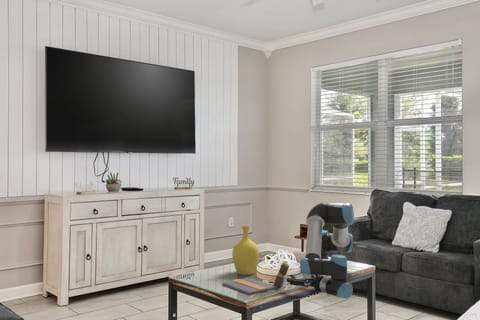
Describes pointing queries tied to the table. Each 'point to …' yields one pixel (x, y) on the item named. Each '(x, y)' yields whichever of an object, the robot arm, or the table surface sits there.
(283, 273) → the wooden block set
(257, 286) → the board
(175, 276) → the table surface
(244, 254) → the vase
